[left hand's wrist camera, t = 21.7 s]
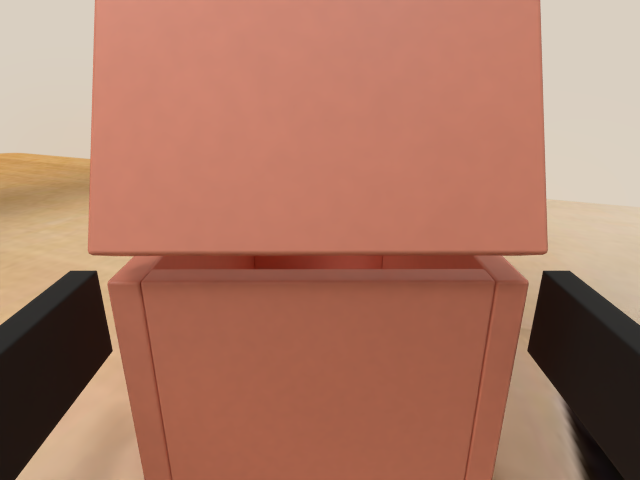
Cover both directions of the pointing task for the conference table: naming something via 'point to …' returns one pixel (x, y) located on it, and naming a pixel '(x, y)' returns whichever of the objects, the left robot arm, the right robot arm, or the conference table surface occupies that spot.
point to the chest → (318, 364)
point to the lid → (317, 128)
